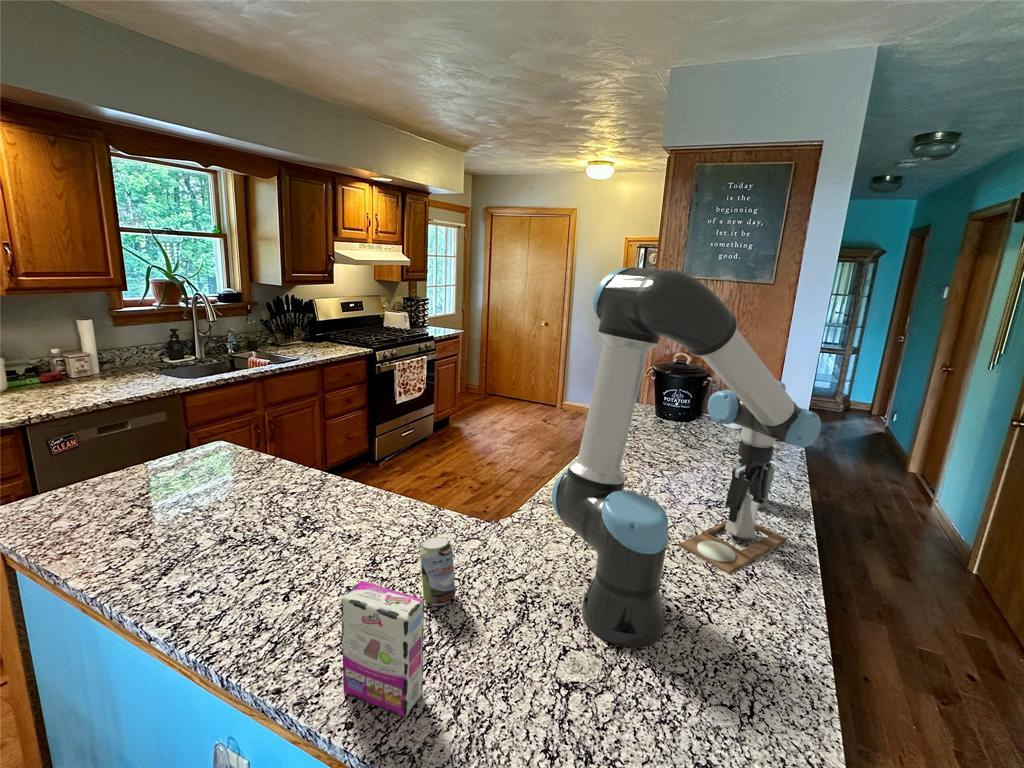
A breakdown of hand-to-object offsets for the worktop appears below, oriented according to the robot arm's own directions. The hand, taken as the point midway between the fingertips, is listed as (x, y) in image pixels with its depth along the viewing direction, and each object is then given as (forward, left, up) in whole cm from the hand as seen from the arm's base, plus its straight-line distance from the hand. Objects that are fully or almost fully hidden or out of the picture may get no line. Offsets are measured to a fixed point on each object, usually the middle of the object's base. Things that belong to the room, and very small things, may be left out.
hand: (740, 528), depth 125 cm
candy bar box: (-92, +3, -3) cm, 93 cm away
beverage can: (-76, +18, -3) cm, 78 cm away
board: (-4, -1, -2) cm, 5 cm away
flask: (0, 0, -1) cm, 1 cm away
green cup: (+22, +10, -3) cm, 25 cm away
